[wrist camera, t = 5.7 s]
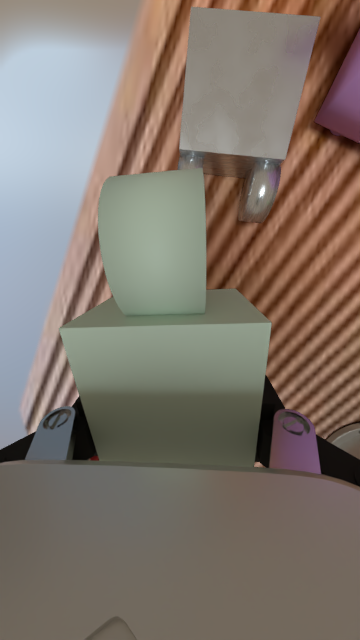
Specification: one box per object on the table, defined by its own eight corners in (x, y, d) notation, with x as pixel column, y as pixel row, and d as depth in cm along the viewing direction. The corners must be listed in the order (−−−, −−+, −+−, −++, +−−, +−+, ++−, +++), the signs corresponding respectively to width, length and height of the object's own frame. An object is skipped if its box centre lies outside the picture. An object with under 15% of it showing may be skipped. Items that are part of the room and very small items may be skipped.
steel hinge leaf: (286, 78, 18) (320, 16, 13) (254, 225, 22) (270, 219, 17) (191, 70, 18) (191, 6, 13) (178, 217, 22) (174, 208, 18)
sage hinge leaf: (240, 189, 8) (296, 116, 4) (229, 426, 14) (247, 518, 9) (102, 201, 9) (3, 150, 4) (141, 424, 14) (115, 511, 9)
